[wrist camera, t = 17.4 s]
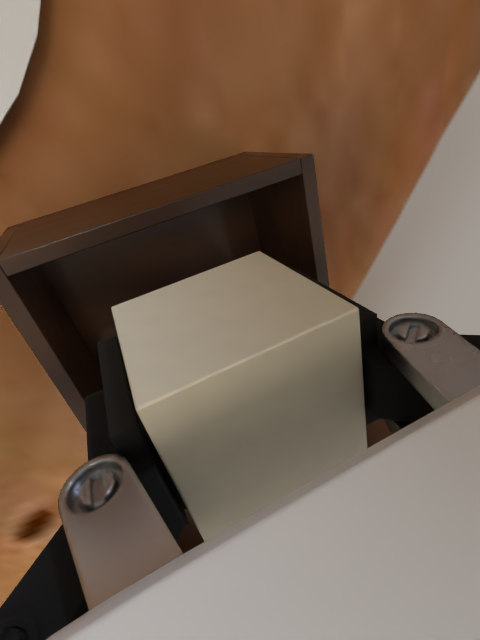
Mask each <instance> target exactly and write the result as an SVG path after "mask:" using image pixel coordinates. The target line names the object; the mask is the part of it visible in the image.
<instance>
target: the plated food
mask: <svg viewBox="0 0 480 640" xmlns="http://www.w3.org/2000/svg"><path fill="white" fill-rule="evenodd" d="M40 6H41V0H0V125H1V123H2V122H3V120H4V119H5V117H6V115H7V114H8V112H9V110H10V109H11V107H12V106H13V104H14V102H15V101H16V99H17V97H18V96H19V94H20V91H21V87H22V84H23V81H24V78H25V75H26V72H27V68H28V65H29V62H30V59H31V56H32V53H33V49H34V46H35V43H36V40H37V37H38V27H39V16H40Z"/></svg>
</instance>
